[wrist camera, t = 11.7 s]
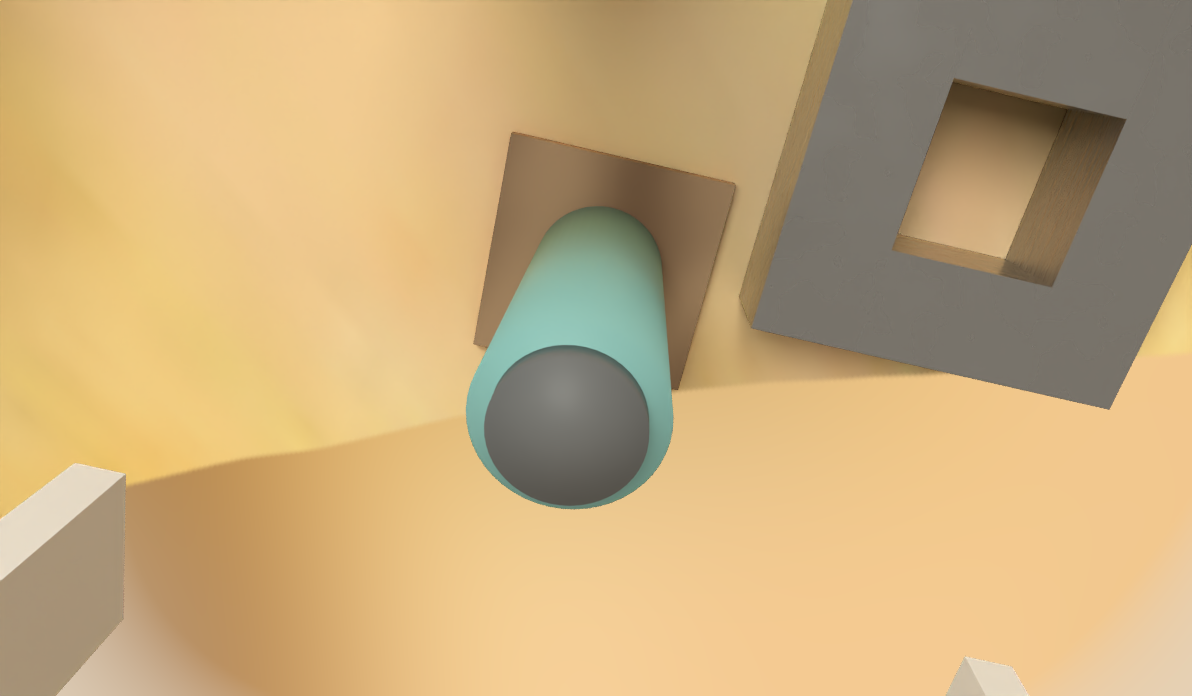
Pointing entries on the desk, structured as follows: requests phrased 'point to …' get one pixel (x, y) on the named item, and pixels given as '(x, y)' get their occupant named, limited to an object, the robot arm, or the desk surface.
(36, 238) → the desk surface
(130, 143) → the desk surface
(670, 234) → the pad
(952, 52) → the housing
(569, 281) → the teal cylinder
